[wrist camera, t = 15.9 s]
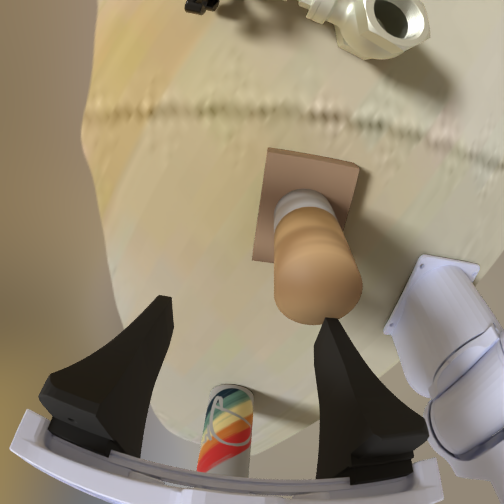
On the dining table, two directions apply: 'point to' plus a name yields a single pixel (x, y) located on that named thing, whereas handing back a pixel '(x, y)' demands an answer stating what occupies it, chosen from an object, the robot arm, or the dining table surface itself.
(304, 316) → the marker peg
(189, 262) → the dining table surface
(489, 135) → the dining table surface
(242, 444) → the lotion bottle
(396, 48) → the valve
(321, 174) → the blocks
